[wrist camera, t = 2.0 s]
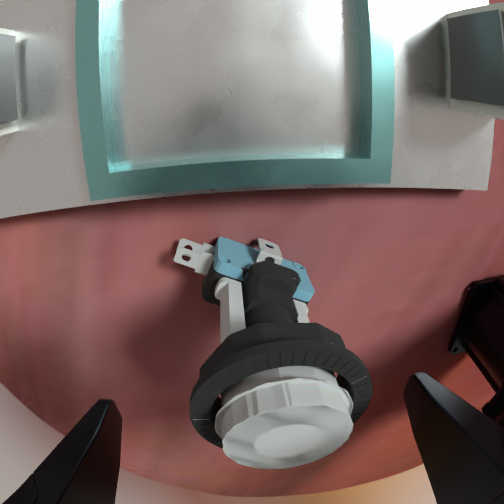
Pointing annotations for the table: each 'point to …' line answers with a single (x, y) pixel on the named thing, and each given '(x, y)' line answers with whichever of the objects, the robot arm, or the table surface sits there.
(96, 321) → the table surface
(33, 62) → the teal-edged white tray
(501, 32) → the white padded clamp jaws
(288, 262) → the push button
